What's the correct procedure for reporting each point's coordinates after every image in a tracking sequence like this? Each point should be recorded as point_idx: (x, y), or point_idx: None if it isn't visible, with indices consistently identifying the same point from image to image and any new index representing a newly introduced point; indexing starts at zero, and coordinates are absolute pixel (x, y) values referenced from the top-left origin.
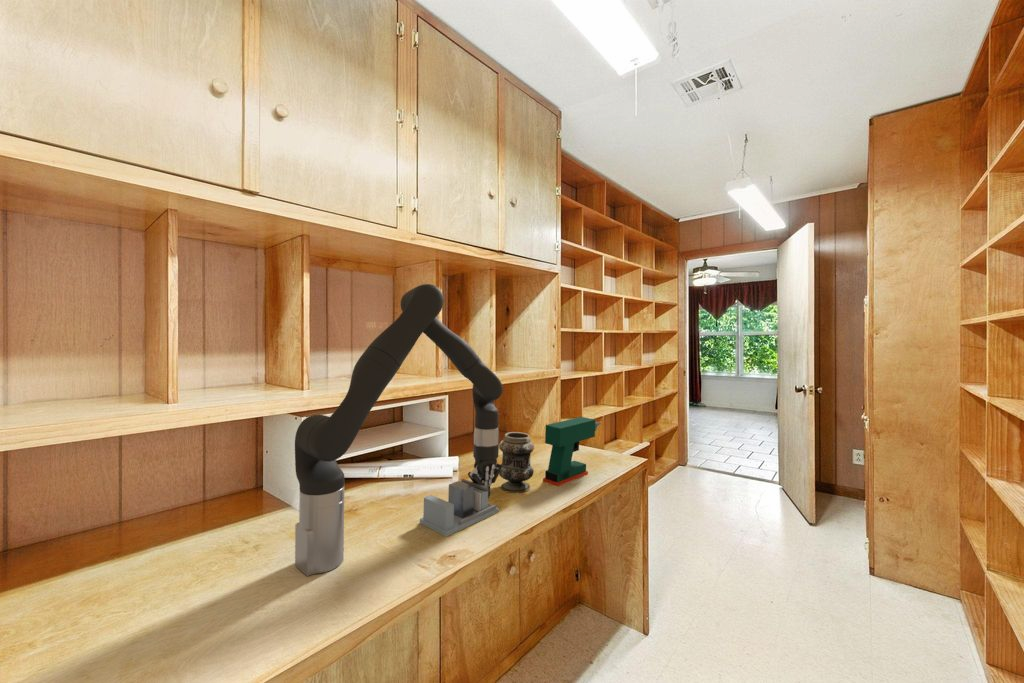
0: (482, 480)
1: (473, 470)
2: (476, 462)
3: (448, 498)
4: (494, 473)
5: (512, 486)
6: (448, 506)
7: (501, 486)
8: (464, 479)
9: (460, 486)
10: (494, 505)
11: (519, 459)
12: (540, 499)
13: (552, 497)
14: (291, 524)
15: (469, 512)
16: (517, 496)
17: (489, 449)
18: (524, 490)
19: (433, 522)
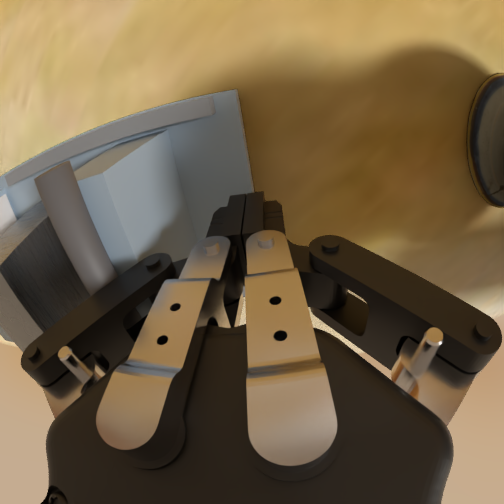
0: (223, 281)
1: (55, 408)
2: (65, 485)
3: (11, 226)
4: (366, 339)
5: (499, 159)
6: (9, 340)
7: (485, 89)
8: (47, 205)
9: (15, 331)
10: (242, 292)
11: None
12: (460, 281)
13: (483, 290)
14: None
15: None
16: (451, 211)
17: None
18: (497, 205)
19: None
